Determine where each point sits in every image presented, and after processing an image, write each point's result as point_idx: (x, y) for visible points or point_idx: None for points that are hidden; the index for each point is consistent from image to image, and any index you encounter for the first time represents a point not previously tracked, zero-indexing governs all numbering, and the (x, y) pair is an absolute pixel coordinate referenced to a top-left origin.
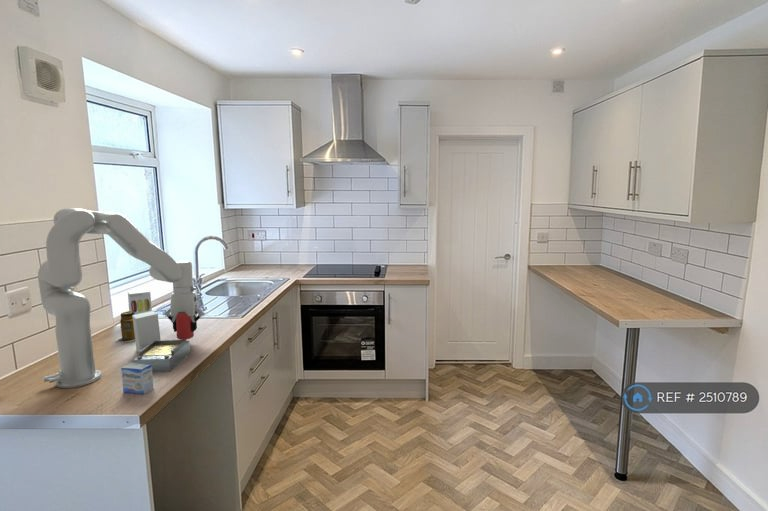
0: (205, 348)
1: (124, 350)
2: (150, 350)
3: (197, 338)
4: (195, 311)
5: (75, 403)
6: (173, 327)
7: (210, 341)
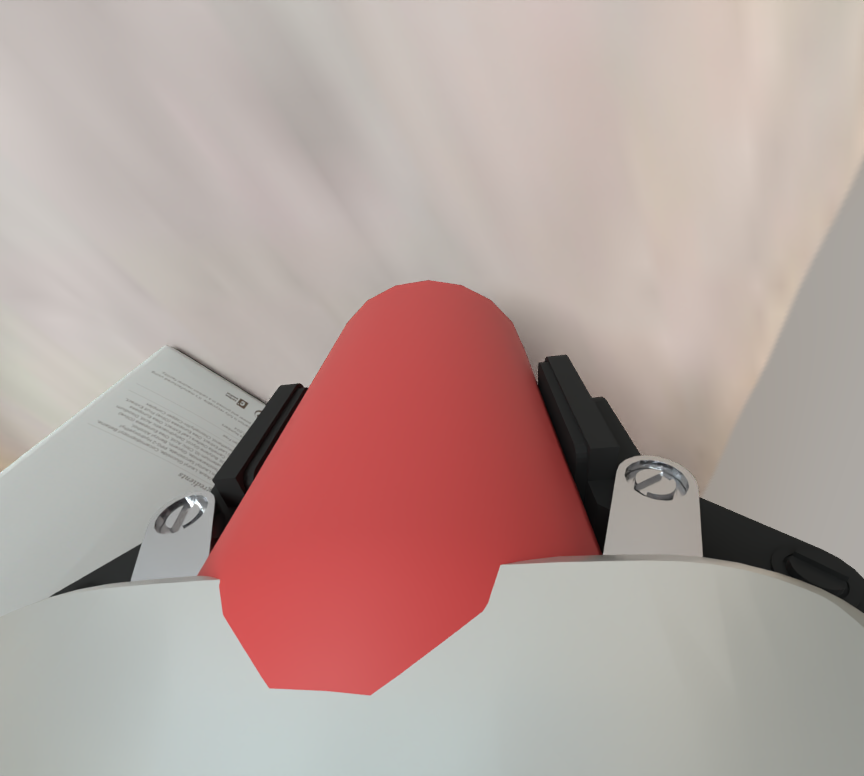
0: (655, 389)
1: (39, 438)
2: None
3: (453, 89)
4: (761, 644)
5: None
6: None
7: (668, 200)
